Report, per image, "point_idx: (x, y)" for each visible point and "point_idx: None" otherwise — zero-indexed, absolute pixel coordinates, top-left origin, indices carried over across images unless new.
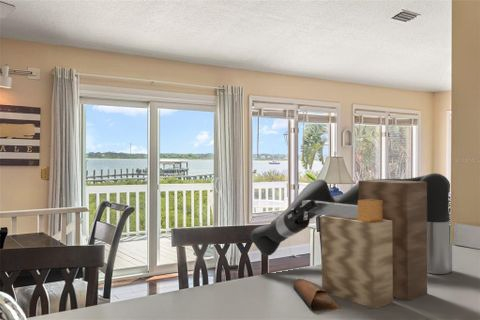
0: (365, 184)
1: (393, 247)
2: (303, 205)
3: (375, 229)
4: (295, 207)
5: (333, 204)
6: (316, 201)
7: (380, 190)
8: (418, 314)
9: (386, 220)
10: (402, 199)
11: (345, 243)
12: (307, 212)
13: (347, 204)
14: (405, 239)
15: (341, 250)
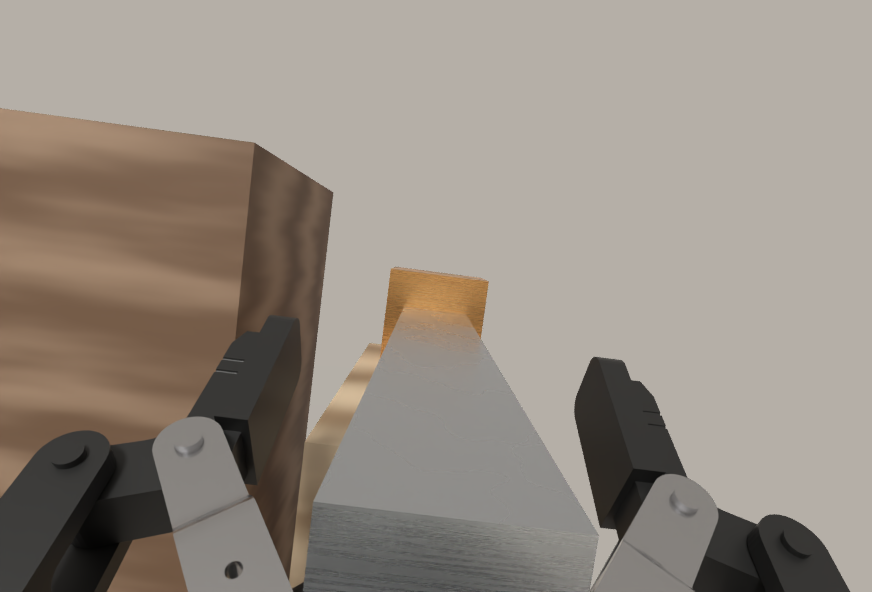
0: (271, 177)
1: (288, 464)
2: (686, 487)
3: None
4: (834, 566)
5: (483, 345)
6: (430, 408)
7: (298, 218)
8: None
9: (379, 347)
10: (321, 255)
11: None
12: (606, 564)
13: (410, 324)
14: (307, 405)
15: None
